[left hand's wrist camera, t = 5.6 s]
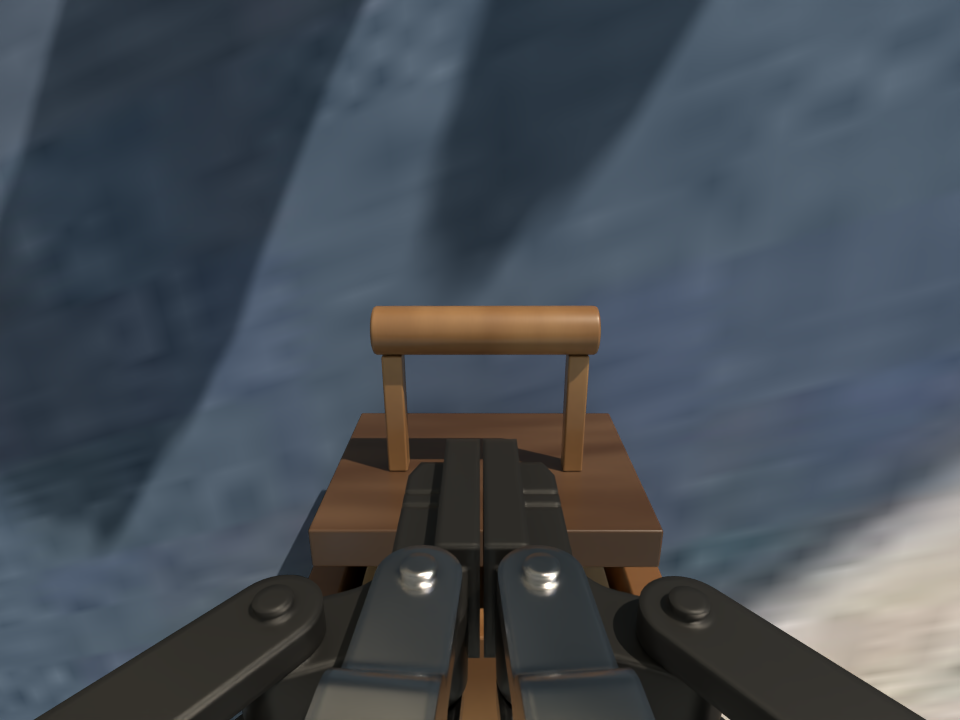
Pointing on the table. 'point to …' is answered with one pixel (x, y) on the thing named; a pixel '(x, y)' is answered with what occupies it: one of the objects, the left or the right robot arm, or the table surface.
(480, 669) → the open wooden crate
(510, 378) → the table surface
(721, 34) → the table surface
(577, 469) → the drawer
